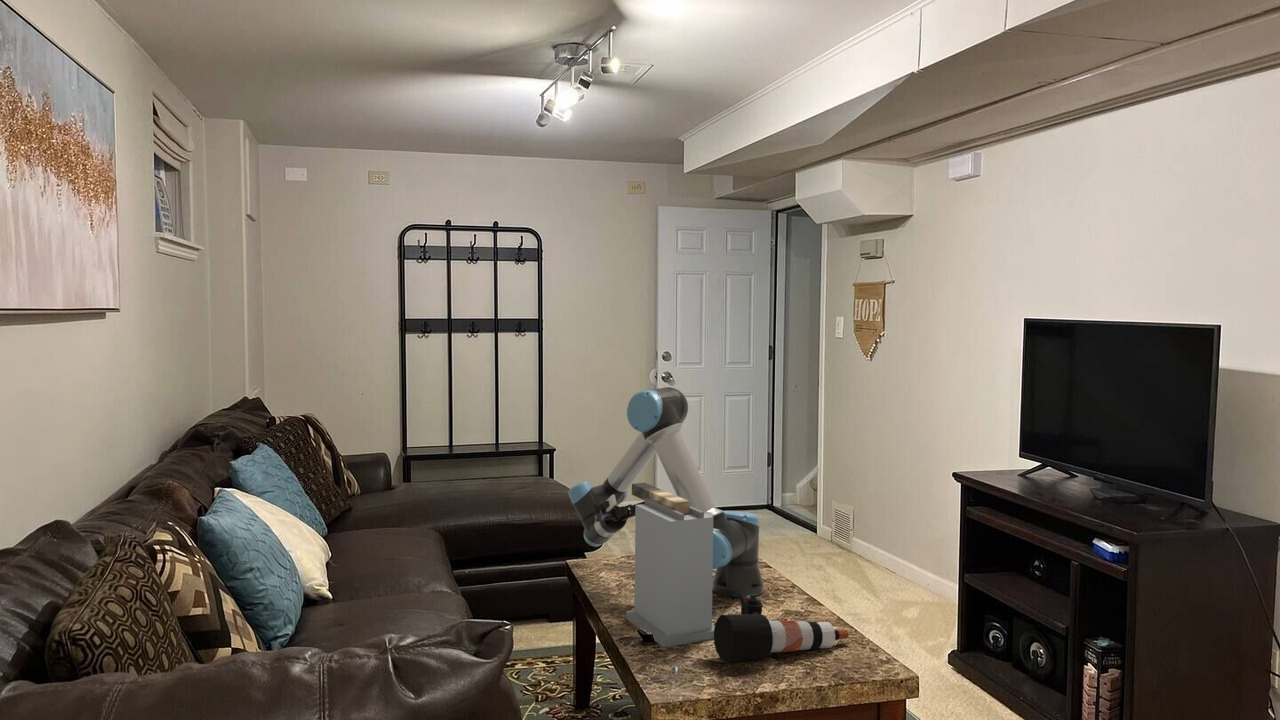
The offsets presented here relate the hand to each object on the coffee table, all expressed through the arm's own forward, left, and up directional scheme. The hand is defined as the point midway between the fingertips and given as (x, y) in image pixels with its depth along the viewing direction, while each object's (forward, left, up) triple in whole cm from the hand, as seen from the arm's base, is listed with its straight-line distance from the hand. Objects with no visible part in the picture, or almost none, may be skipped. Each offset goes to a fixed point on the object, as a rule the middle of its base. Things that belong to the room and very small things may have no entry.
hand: (637, 497), depth 241 cm
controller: (-31, +16, -30) cm, 46 cm away
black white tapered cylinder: (-39, +31, -30) cm, 58 cm away
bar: (-7, +11, +1) cm, 13 cm away
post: (-11, +18, -30) cm, 36 cm away
